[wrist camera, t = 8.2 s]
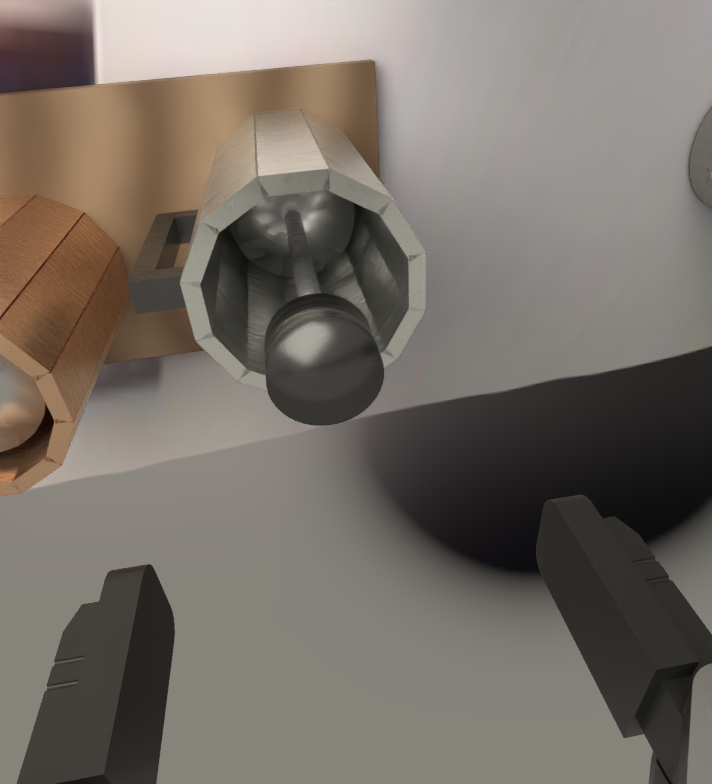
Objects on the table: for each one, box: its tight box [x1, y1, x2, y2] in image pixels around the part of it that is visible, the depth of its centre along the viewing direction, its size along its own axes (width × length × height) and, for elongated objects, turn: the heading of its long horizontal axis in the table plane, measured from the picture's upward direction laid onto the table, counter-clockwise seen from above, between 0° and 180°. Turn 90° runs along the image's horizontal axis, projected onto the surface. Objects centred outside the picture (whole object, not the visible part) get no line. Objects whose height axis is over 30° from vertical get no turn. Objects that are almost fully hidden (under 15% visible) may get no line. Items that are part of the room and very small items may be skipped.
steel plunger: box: [231, 190, 384, 425], centre depth 23 cm, size 7×7×16 cm
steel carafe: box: [126, 108, 426, 391], centre depth 27 cm, size 12×9×14 cm
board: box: [0, 60, 379, 364], centre depth 34 cm, size 26×16×1 cm, turn 94°
